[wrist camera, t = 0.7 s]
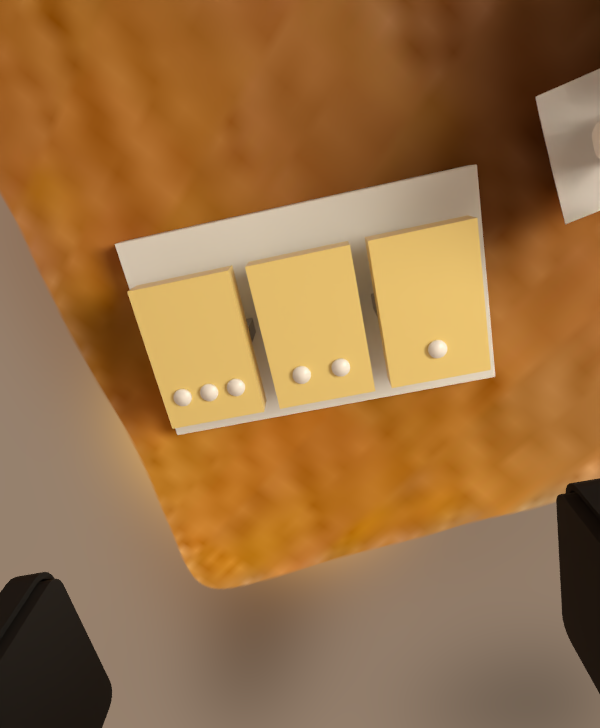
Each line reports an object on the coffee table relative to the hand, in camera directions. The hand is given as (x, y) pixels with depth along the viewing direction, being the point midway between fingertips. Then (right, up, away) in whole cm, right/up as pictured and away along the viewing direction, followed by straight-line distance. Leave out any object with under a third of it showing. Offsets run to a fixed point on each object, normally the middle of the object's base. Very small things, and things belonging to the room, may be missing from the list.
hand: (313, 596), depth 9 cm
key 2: (+1, +6, +22) cm, 23 cm away
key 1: (+7, +8, +22) cm, 24 cm away
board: (+1, +8, +27) cm, 28 cm away
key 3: (-6, +5, +23) cm, 24 cm away
